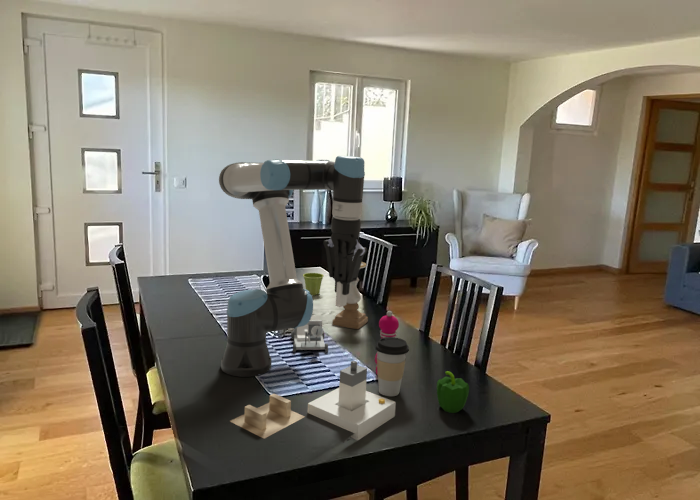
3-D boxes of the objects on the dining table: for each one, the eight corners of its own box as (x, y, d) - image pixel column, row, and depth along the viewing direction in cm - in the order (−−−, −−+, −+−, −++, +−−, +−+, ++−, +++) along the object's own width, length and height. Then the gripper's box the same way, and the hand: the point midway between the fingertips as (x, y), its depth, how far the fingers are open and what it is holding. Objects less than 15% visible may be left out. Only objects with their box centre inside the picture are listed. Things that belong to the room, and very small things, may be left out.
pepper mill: (400, 371, 173) (404, 309, 169) (394, 380, 166) (398, 316, 162) (377, 367, 175) (381, 306, 171) (371, 375, 168) (374, 312, 164)
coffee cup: (370, 384, 162) (373, 335, 159) (402, 384, 163) (406, 336, 160) (375, 399, 153) (378, 347, 150) (408, 399, 154) (412, 348, 151)
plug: (338, 415, 141) (340, 363, 138) (352, 407, 146) (354, 356, 143) (350, 420, 139) (353, 367, 136) (364, 412, 144) (367, 360, 141)
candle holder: (331, 324, 213) (334, 264, 208) (342, 317, 223) (345, 259, 218) (358, 329, 209) (361, 267, 204) (368, 321, 219) (371, 262, 214)
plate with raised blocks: (229, 426, 135) (229, 405, 134) (271, 406, 146) (271, 387, 145) (264, 444, 128) (264, 422, 127) (305, 422, 139) (305, 401, 138)
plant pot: (322, 296, 250) (323, 278, 249) (301, 295, 250) (302, 277, 249) (323, 291, 260) (324, 273, 258) (303, 290, 260) (304, 272, 258)
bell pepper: (472, 414, 147) (475, 379, 145) (444, 417, 145) (447, 381, 143) (457, 400, 155) (460, 366, 153) (430, 403, 152) (433, 368, 151)
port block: (307, 418, 141) (307, 401, 140) (346, 397, 154) (346, 381, 153) (357, 440, 132) (358, 422, 131) (394, 416, 144) (395, 399, 143)
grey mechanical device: (330, 328, 181) (294, 328, 179) (328, 356, 183) (293, 357, 181) (324, 311, 198) (291, 311, 196) (323, 337, 200) (291, 337, 198)
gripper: (317, 215, 143) (313, 302, 148) (357, 222, 135) (351, 314, 140) (336, 212, 149) (331, 296, 154) (375, 220, 141) (369, 308, 146)
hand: (340, 305), depth 147 cm, fingers closed
